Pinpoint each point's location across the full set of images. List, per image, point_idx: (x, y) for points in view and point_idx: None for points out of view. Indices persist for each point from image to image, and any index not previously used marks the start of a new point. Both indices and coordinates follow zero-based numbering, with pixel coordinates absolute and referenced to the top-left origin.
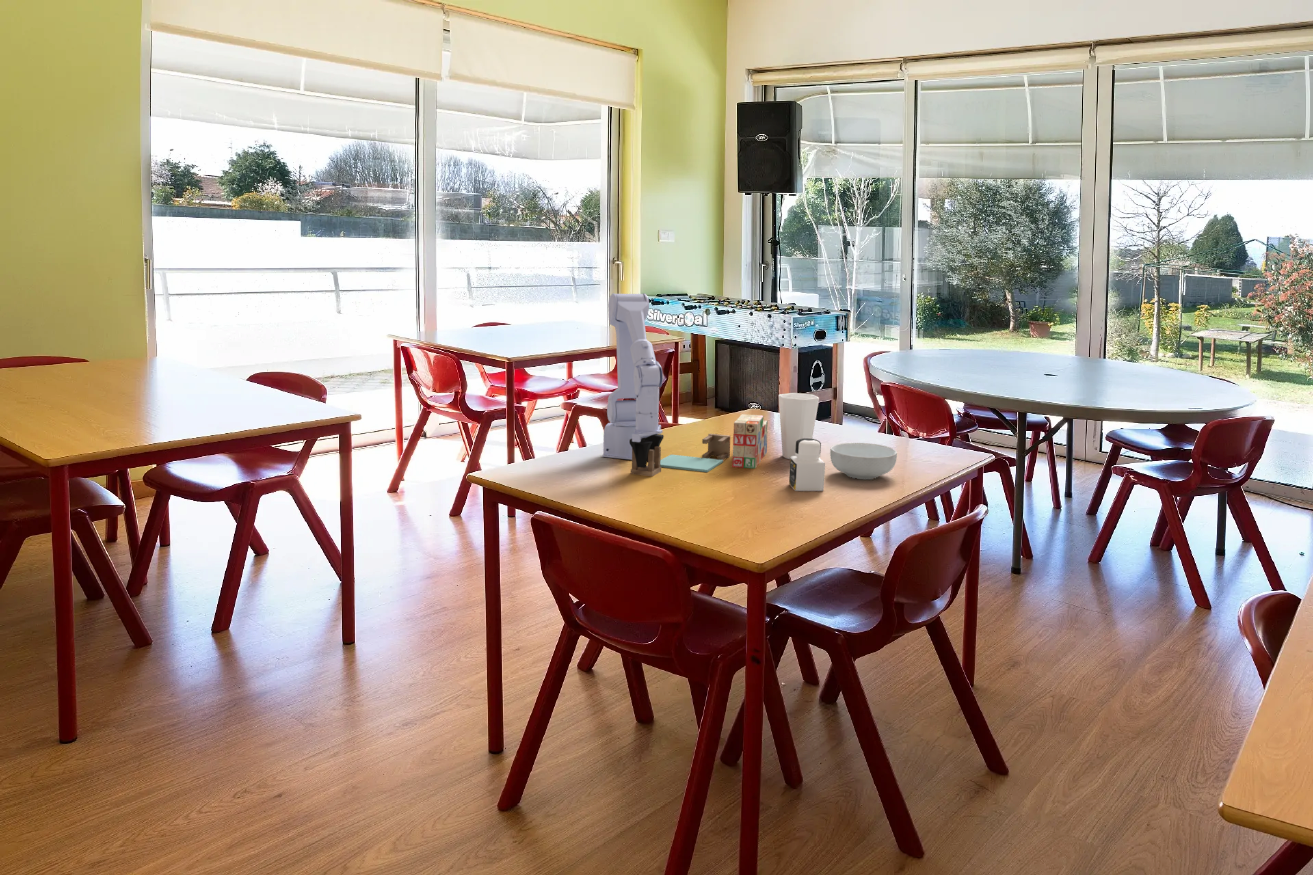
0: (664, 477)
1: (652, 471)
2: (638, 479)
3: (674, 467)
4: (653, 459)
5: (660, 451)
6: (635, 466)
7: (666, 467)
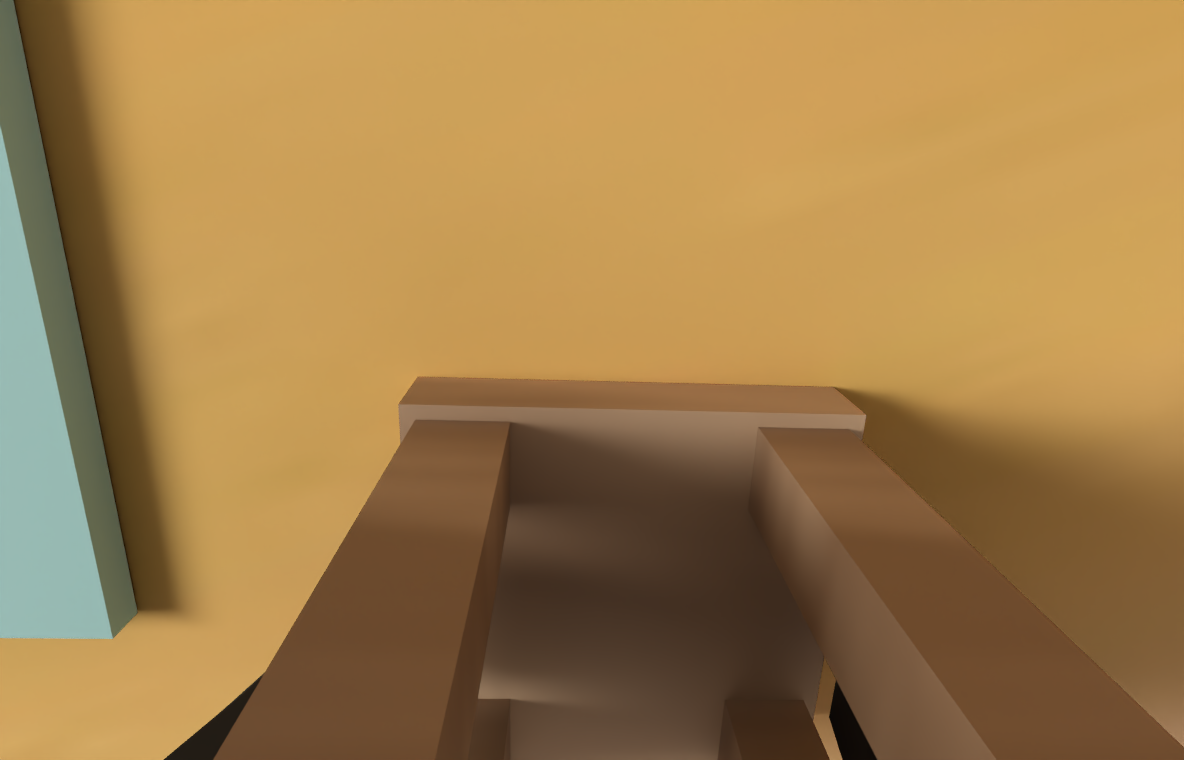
0: (851, 159)
1: (836, 428)
2: (1107, 507)
3: (45, 226)
4: (906, 557)
5: (304, 643)
6: (823, 757)
7: (89, 389)
